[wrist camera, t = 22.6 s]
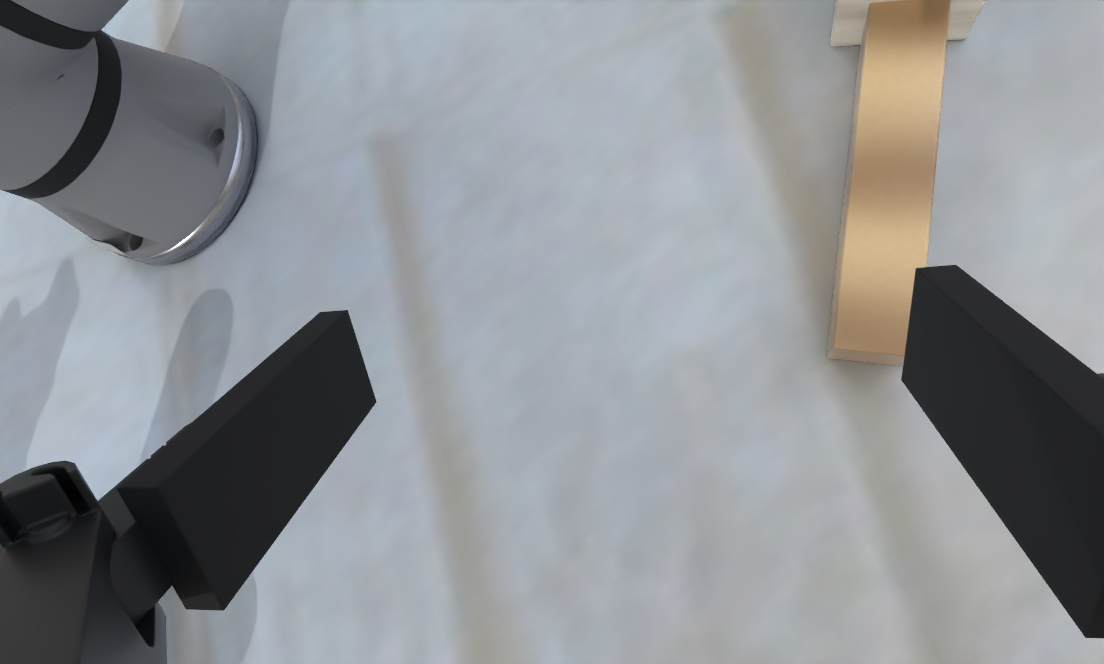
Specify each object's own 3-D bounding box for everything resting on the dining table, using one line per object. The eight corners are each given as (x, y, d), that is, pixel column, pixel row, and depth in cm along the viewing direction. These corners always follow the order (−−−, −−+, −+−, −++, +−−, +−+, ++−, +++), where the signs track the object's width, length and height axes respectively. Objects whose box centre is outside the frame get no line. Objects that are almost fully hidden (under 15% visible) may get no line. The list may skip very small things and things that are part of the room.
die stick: (841, -59, 32) (857, -170, 26) (976, -73, 29) (1026, -198, 24) (794, 354, 29) (800, 332, 23) (938, 370, 27) (984, 351, 21)
